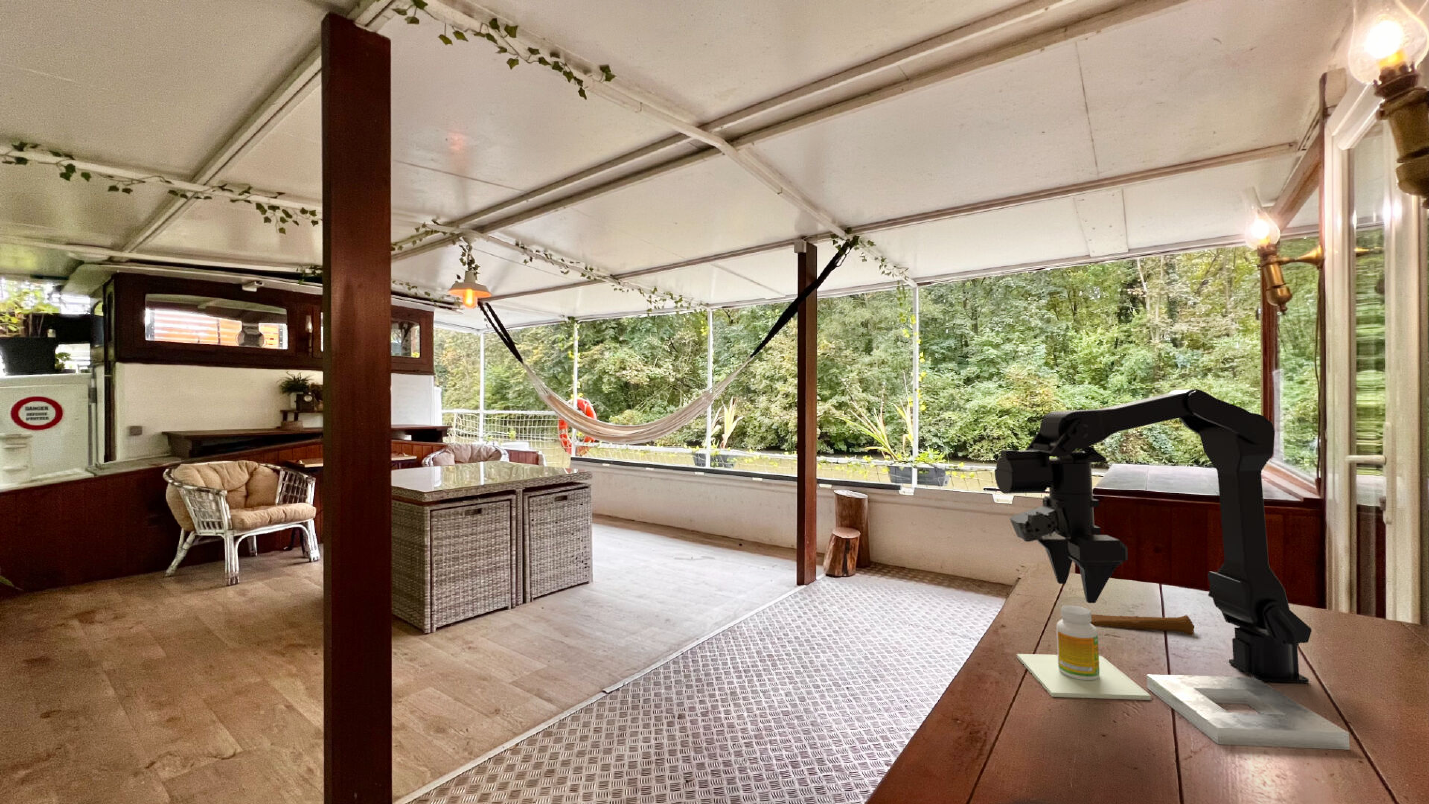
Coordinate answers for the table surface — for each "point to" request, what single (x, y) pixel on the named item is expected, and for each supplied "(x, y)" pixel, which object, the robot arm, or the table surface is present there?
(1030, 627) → the table surface
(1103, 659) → the sage pad
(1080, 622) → the supplement bottle
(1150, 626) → the primitive tool
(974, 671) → the table surface
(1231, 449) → the robot arm
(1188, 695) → the post foot
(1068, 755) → the table surface
